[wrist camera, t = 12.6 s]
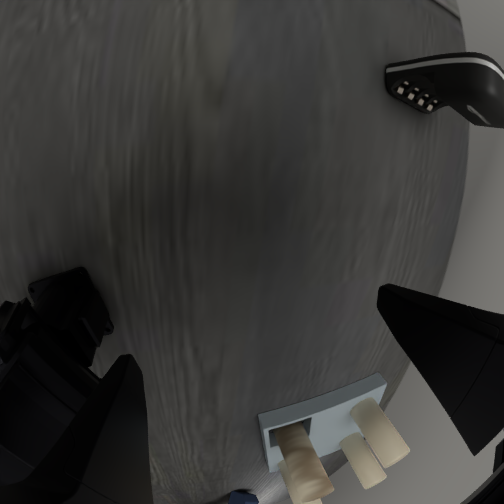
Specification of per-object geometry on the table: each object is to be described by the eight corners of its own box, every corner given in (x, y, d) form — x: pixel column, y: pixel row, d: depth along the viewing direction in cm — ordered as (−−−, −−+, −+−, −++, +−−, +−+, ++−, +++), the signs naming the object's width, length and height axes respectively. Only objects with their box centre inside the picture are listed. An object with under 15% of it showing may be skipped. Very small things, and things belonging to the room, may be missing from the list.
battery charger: (379, 98, 20) (489, 97, 9) (383, 62, 18) (487, 47, 8) (428, 123, 22) (523, 138, 11) (431, 91, 20) (524, 96, 10)
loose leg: (272, 430, 34) (302, 504, 22) (268, 417, 32) (301, 499, 21) (298, 421, 34) (333, 492, 23) (296, 407, 33) (335, 486, 21)
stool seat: (266, 461, 39) (288, 520, 27) (257, 414, 31) (290, 500, 20) (357, 429, 42) (387, 479, 30) (378, 372, 35) (427, 434, 23)
